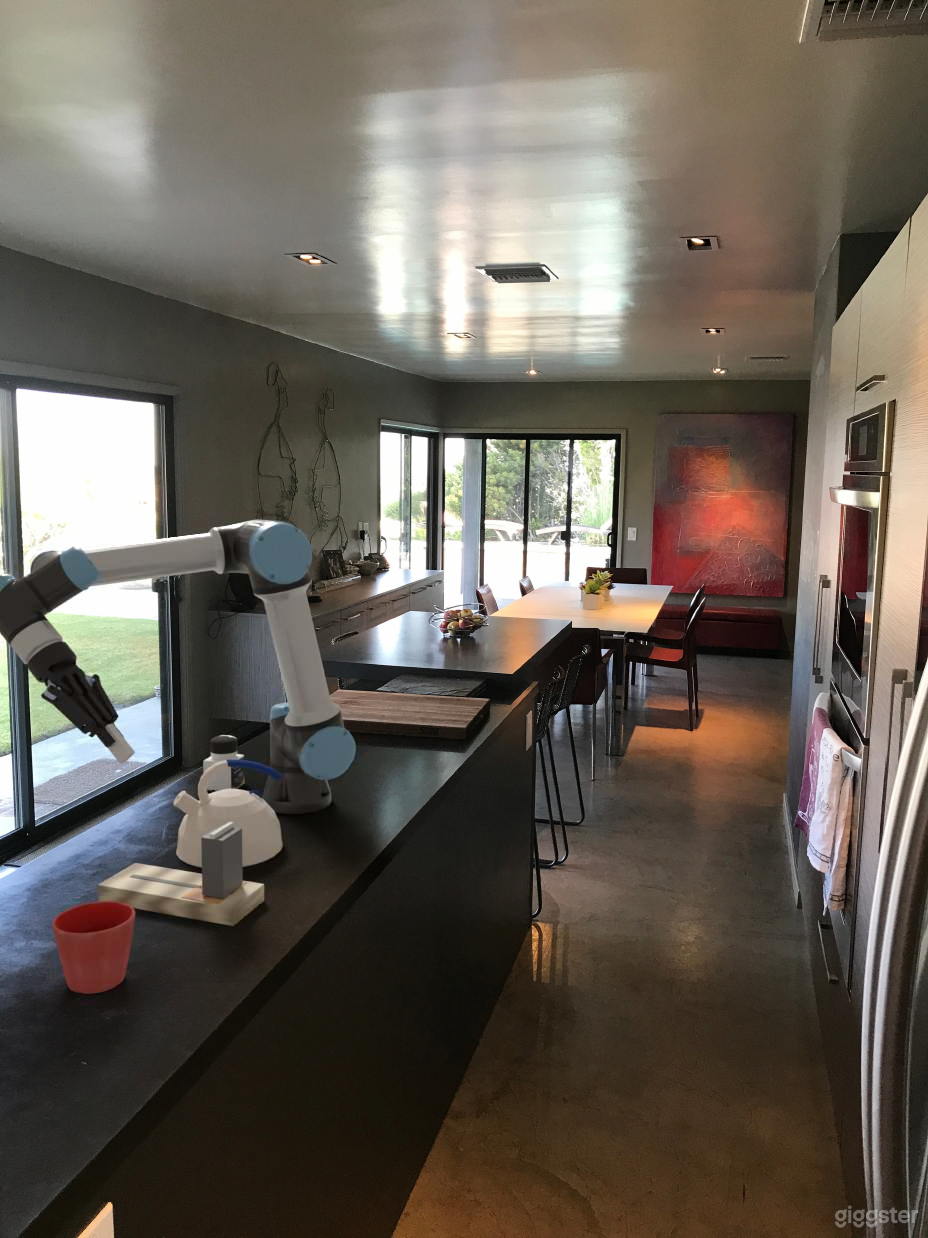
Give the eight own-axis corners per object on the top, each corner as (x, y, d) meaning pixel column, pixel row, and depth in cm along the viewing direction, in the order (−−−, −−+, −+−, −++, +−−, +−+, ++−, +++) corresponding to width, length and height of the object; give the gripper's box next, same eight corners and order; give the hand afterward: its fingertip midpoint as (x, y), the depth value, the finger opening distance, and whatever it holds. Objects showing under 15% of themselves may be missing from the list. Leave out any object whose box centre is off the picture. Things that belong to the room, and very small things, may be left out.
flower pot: (69, 962, 139) (66, 900, 138) (144, 961, 140) (143, 899, 139) (43, 1001, 129) (40, 934, 128) (125, 999, 130) (123, 933, 129)
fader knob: (202, 895, 155) (201, 832, 154) (222, 881, 161) (221, 820, 160) (223, 899, 154) (222, 836, 153) (242, 884, 160) (241, 823, 158)
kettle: (168, 837, 189) (166, 750, 187) (271, 825, 197) (271, 741, 195) (180, 876, 171) (179, 781, 168) (293, 861, 179) (293, 769, 176)
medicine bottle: (231, 792, 217) (231, 742, 215) (203, 790, 218) (202, 740, 217) (245, 783, 224) (244, 734, 222) (217, 781, 225) (216, 732, 223)
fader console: (98, 901, 160) (97, 884, 159) (135, 878, 169) (135, 862, 169) (233, 926, 152) (233, 908, 151) (264, 900, 161) (264, 883, 161)
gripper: (57, 661, 170) (137, 761, 168) (5, 672, 158) (89, 781, 156) (82, 634, 168) (163, 736, 166) (31, 644, 156) (117, 754, 154)
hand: (127, 758), depth 161 cm, fingers closed
